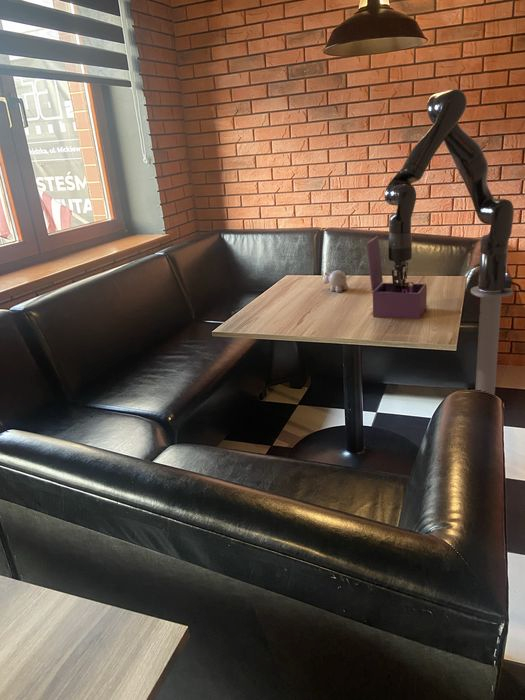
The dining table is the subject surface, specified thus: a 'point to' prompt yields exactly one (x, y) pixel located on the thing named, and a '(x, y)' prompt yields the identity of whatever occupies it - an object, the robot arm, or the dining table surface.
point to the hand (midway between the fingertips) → (400, 294)
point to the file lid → (374, 262)
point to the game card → (392, 288)
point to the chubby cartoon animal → (336, 280)
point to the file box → (399, 302)
